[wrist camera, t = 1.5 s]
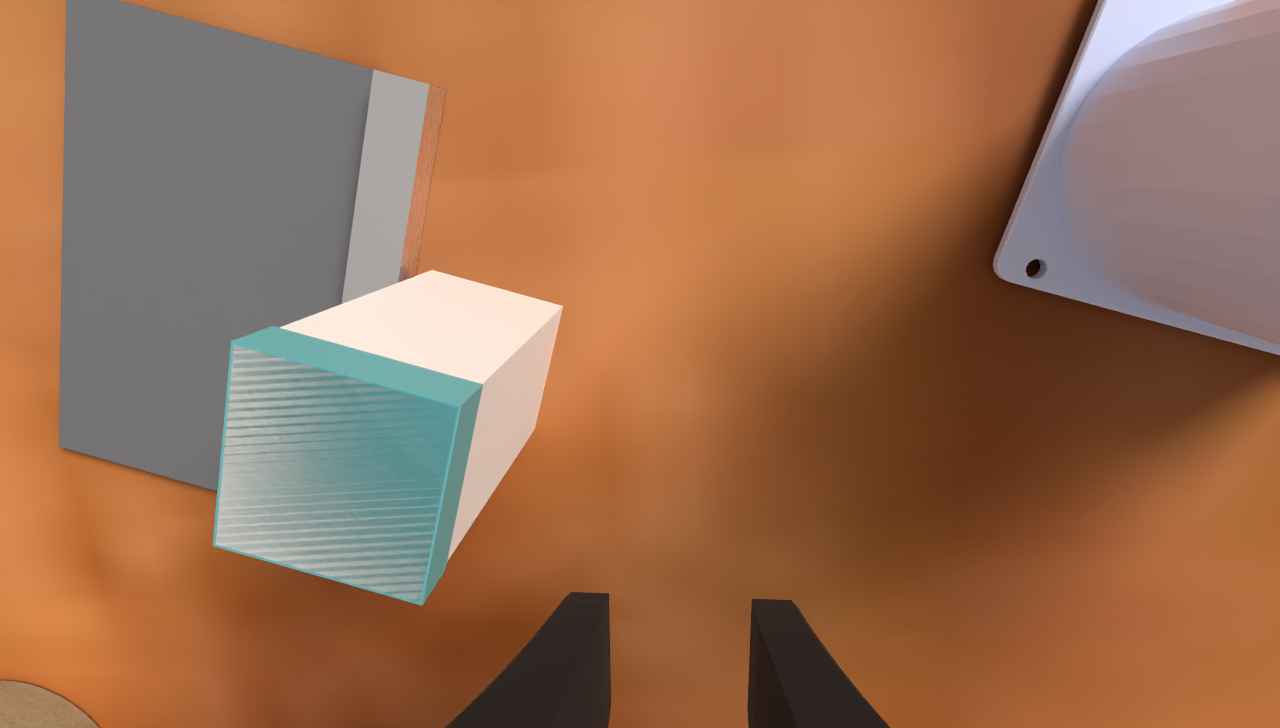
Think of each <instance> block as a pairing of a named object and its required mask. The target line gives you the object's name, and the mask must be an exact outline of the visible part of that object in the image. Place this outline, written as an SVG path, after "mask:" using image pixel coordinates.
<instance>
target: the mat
mask: <svg viewBox="0 0 1280 728" xmlns="http://www.w3.org/2000/svg"><path fill="white" fill-rule="evenodd" d="M372 77H373V69H370V68H366V67H362V66H358V65H355V64H351V63H347V62H344V61H340V60H336V59H333V58H329V57H325V56H321V55H318V54H314V53H310V52H307V51H303V50H299V49H295V48H292V47H288V46H284V45H281V44H277V43H273V42H270V41H266V40H262V39H258V38H255V37H251V36H247V35H244V34H240V33H236V32H232V31H229V30H225V29H221V28H218V27H214V26H210V25H207V24H203V23H199V22H195V21H192V20H188V19H184V18H181V17H177V16H173V15H169V14H166V13H162V12H158V11H155V10H151V9H147V8H144V7H140V6H136V5H132V4H129V3H125V2H121V1H118V0H66V55H65V113H64V171H63V230H62V288H61V347H60V405H59V447H62V448H66V449H70V450H73V451H77V452H80V453H84V454H87V455H91V456H94V457H98V458H101V459H105V460H108V461H112V462H115V463H119V464H122V465H126V466H129V467H133V468H136V469H140V470H143V471H147V472H151V473H154V474H158V475H161V476H165V477H168V478H172V479H175V480H179V481H182V482H186V483H189V484H193V485H196V486H200V487H203V488H207V489H210V490H214V491H217V492H218V481H219V470H220V459H221V448H222V437H223V426H224V415H225V404H226V393H227V382H228V371H229V360H230V349H231V341H233V340H236V339H239V338H241V337H244V336H247V335H249V334H252V333H255V332H258V331H260V330H263V329H266V328H269V327H271V326H275V327H282V326H285V325H287V324H290V323H293V322H295V321H298V320H301V319H303V318H306V317H309V316H311V315H314V314H317V313H319V312H322V311H325V310H327V309H330V308H333V307H335V306H338V305H341V304H342V297H343V289H344V282H345V275H346V267H347V260H348V253H349V245H350V238H351V231H352V223H353V216H354V209H355V201H356V194H357V187H358V179H359V172H360V165H361V157H362V150H363V143H364V135H365V128H366V121H367V113H368V106H369V99H370V91H371V84H372Z"/></svg>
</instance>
